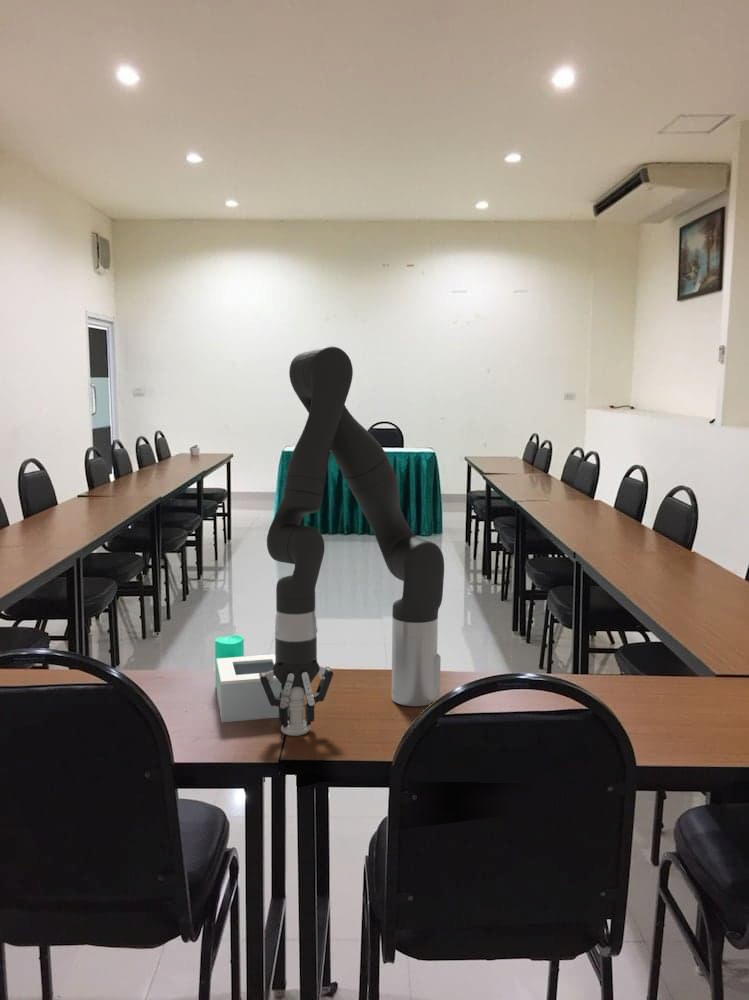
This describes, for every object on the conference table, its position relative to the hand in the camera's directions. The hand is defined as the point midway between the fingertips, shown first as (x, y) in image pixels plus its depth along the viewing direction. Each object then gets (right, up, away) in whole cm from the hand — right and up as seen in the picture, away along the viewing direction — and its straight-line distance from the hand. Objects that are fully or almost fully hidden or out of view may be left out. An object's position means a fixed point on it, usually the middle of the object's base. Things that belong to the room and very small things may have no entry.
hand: (296, 724), depth 143 cm
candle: (-16, +1, +22) cm, 28 cm away
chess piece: (0, -1, 0) cm, 1 cm away
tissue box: (-9, 0, +12) cm, 15 cm away
